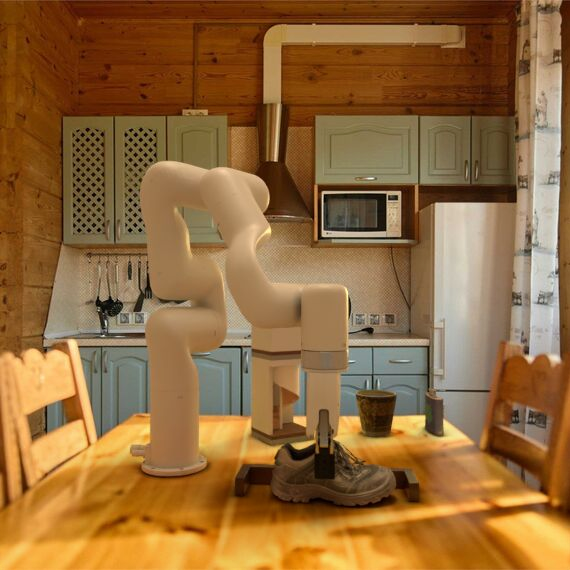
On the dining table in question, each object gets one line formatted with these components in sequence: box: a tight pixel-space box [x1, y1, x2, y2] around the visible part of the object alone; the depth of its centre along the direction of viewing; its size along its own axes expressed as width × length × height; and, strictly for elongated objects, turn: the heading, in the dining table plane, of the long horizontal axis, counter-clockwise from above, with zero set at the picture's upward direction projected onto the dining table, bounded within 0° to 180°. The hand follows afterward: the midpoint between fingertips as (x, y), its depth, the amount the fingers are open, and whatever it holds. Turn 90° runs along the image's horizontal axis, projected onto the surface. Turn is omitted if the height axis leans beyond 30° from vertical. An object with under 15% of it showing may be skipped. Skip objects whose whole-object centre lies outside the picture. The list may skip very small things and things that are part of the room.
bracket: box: [234, 463, 420, 503], centre depth 94 cm, size 31×8×3 cm, turn 85°
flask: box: [424, 388, 445, 437], centre depth 135 cm, size 9×3×11 cm, turn 2°
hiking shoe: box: [270, 439, 396, 507], centre depth 91 cm, size 9×21×12 cm
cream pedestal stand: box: [250, 324, 315, 446], centre depth 130 cm, size 11×11×35 cm
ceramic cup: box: [355, 389, 398, 438], centre depth 132 cm, size 13×10×10 cm
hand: (324, 477), depth 85 cm, fingers closed
